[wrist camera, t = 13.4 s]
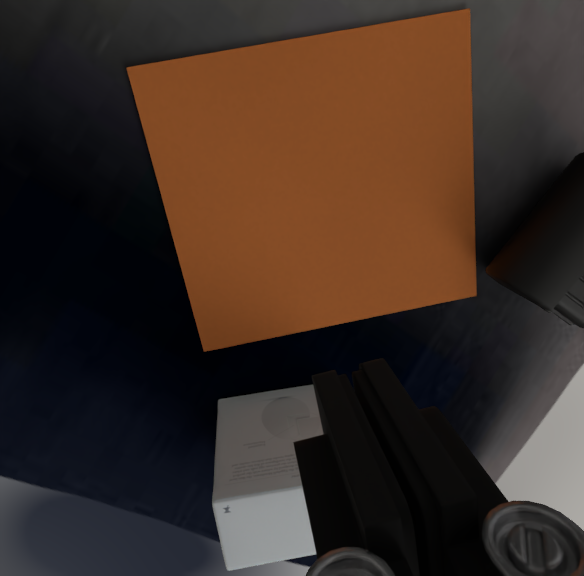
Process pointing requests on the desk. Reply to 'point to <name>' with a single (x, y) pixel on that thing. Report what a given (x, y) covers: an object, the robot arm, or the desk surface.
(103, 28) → the desk surface
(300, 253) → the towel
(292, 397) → the cosmetics box
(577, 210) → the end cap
